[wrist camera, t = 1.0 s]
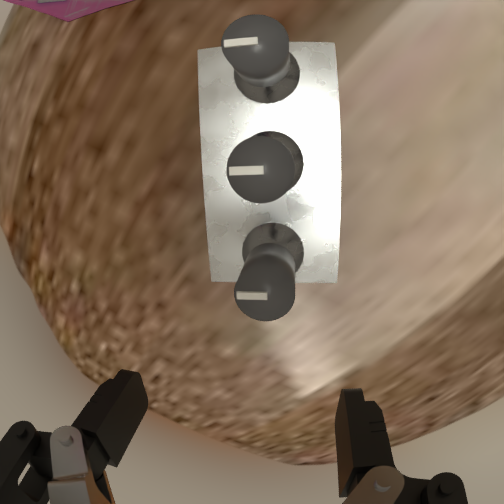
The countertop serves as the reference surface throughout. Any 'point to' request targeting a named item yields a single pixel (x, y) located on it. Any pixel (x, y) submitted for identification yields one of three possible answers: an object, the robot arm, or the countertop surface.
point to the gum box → (68, 7)
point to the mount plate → (301, 147)
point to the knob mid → (260, 169)
